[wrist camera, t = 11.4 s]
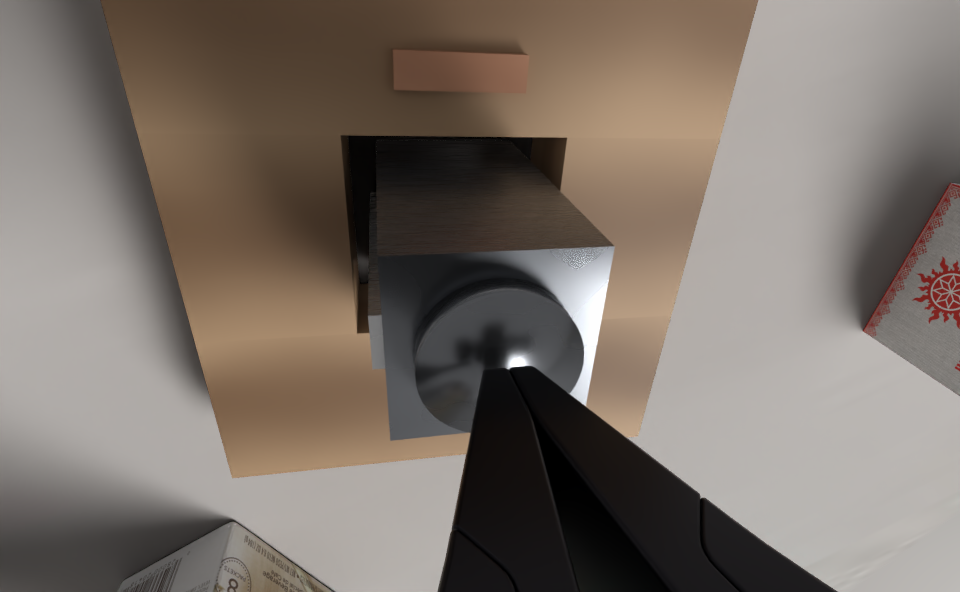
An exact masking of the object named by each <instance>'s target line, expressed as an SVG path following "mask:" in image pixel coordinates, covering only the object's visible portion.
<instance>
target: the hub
mask: <svg viewBox="0 0 960 592" xmlns="http://www.w3.org/2000/svg"><path fill="white" fill-rule="evenodd" d="M100 1H101V4H102V8H103V12H104V15H105V19H106V23H107V26H108V30H109V33H110V37H111V41H112V44H113V48H114V51H115V55H116V59H117V62H118V66H119V70H120V73H121V77H122V80H123V84H124V88H125V91H126V95H127V99H128V102H129V106H130V109H131V113H132V117H133V120H134V124H135V128H136V131H137V135H138V138H139V142H140V146H141V149H142V153H143V156H144V160H145V164H146V167H147V171H148V175H149V178H150V182H151V185H152V189H153V193H154V196H155V200H156V204H157V207H158V211H159V214H160V218H161V222H162V225H163V229H164V233H165V236H166V240H167V243H168V247H169V251H170V254H171V258H172V262H173V265H174V269H175V272H176V276H177V280H178V283H179V287H180V290H181V294H182V298H183V301H184V305H185V309H186V312H187V316H188V319H189V323H190V327H191V330H192V334H193V338H194V341H195V345H196V348H197V352H198V356H199V359H200V363H201V367H202V370H203V374H204V377H205V381H206V385H207V388H208V392H209V395H210V399H211V403H212V406H213V410H214V414H215V417H216V421H217V424H218V428H219V432H220V435H221V439H222V443H223V446H224V450H225V453H226V457H227V461H228V464H229V468H230V472H231V475H232V478H239V477H248V476H258V475H268V474H277V473H287V472H297V471H306V470H316V469H326V468H335V467H345V466H355V465H364V464H374V463H384V462H394V461H403V460H413V459H423V458H432V457H442V456H452V455H461V454H466V453H467V448H468V443H469V438H470V433H460V434H451V435H441V436H432V437H422V438H413V439H403V440H394V441H390V429H389V415H388V401H387V386H386V372H385V369H372V357H371V345H370V334H369V322H368V288H369V283H366V284H360V283H359V270H358V257H357V244H356V231H355V218H354V205H353V192H352V179H351V166H350V153H349V140H348V135H360V136H459V137H533V139H532V149H531V159H530V161H531V162H532V163H533V164H534V165H535V166H536V167H537V168H538V169H539V170H540V171H541V172H542V173H543V174H544V175H545V176H546V177H547V178H548V179H549V180H550V181H551V182H552V183H553V184H554V185H555V186H556V187H557V188H558V189H559V190H560V191H561V192H562V193H563V194H564V195H565V196H566V197H567V198H568V199H569V200H570V202H571V203H572V204H573V205H574V206H575V207H576V208H577V209H578V210H579V211H580V212H581V213H582V214H583V215H584V216H585V217H586V218H587V219H588V220H589V221H590V222H591V223H592V224H593V225H594V226H595V227H596V228H597V229H598V230H599V231H600V232H601V233H602V234H603V235H604V236H605V237H606V238H607V239H608V240H609V241H610V242H611V243H612V244H613V245H614V246H615V248H614V254H613V259H612V265H611V270H610V275H609V281H608V286H607V292H606V297H605V303H604V308H603V314H602V319H601V325H600V330H599V336H598V341H597V347H596V352H595V358H594V363H593V369H592V374H591V380H590V385H589V391H588V396H587V402H586V407H587V408H589V409H590V410H591V411H593V412H594V413H595V414H597V415H598V416H599V417H600V418H602V419H603V420H604V421H606V422H607V423H608V424H610V425H611V426H612V427H613V428H615V429H616V430H617V431H619V432H620V433H621V434H623V435H624V436H625V437H635V436H638V434H639V431H640V427H641V423H642V420H643V416H644V412H645V409H646V405H647V402H648V398H649V394H650V391H651V387H652V383H653V380H654V376H655V373H656V369H657V365H658V362H659V358H660V354H661V351H662V347H663V344H664V340H665V336H666V333H667V329H668V325H669V322H670V318H671V315H672V311H673V307H674V304H675V300H676V296H677V293H678V289H679V286H680V282H681V278H682V275H683V271H684V267H685V264H686V260H687V257H688V253H689V249H690V246H691V242H692V238H693V235H694V231H695V228H696V224H697V220H698V217H699V213H700V209H701V206H702V202H703V199H704V195H705V191H706V188H707V184H708V180H709V177H710V173H711V170H712V166H713V162H714V159H715V155H716V151H717V148H718V144H719V141H720V137H721V133H722V130H723V126H724V122H725V119H726V115H727V112H728V108H729V104H730V101H731V97H732V93H733V90H734V86H735V83H736V79H737V75H738V72H739V68H740V64H741V61H742V57H743V54H744V50H745V46H746V43H747V39H748V35H749V32H750V28H751V25H752V21H753V17H754V14H755V10H756V6H757V3H758V0H100Z"/></svg>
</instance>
